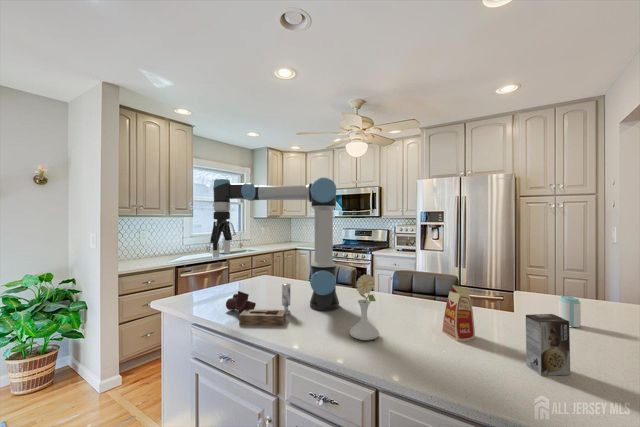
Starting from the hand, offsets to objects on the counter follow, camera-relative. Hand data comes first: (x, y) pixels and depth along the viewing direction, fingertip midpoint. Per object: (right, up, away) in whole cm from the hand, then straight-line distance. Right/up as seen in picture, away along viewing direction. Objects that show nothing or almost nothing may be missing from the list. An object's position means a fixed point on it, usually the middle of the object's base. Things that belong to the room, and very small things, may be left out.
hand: (221, 255), depth 141 cm
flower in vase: (+65, -28, -28) cm, 76 cm away
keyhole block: (+22, -28, -11) cm, 37 cm away
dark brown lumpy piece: (+9, -28, 0) cm, 29 cm away
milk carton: (+102, -28, -26) cm, 109 cm away
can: (+154, -28, -15) cm, 158 cm away
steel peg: (+31, -28, 0) cm, 42 cm away
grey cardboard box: (+117, -28, -52) cm, 131 cm away
